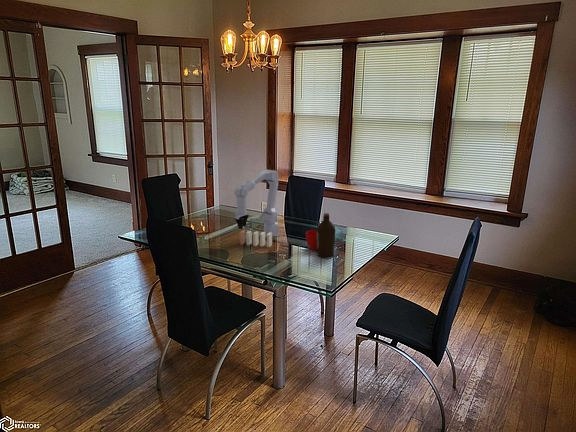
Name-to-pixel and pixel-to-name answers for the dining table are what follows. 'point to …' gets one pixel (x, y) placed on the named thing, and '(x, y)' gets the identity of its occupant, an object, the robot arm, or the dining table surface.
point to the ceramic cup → (312, 239)
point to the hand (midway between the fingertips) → (242, 227)
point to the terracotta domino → (242, 237)
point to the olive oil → (325, 238)
